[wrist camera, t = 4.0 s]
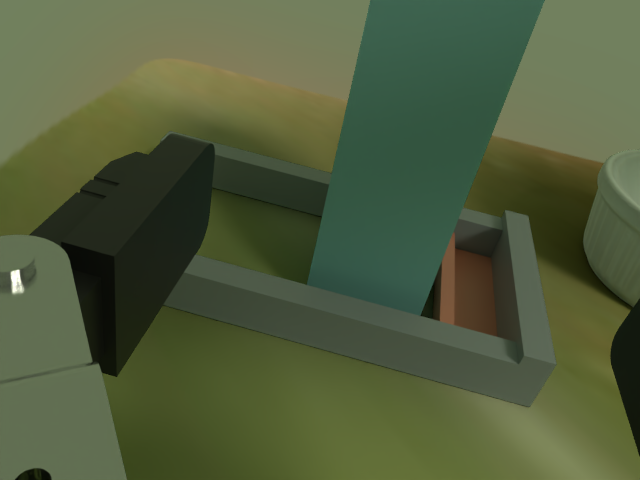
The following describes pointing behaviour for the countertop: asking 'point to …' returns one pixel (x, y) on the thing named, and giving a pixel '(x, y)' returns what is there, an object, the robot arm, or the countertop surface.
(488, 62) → the teal block
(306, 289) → the grey rectangular frame
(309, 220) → the countertop surface
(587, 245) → the ramekin
